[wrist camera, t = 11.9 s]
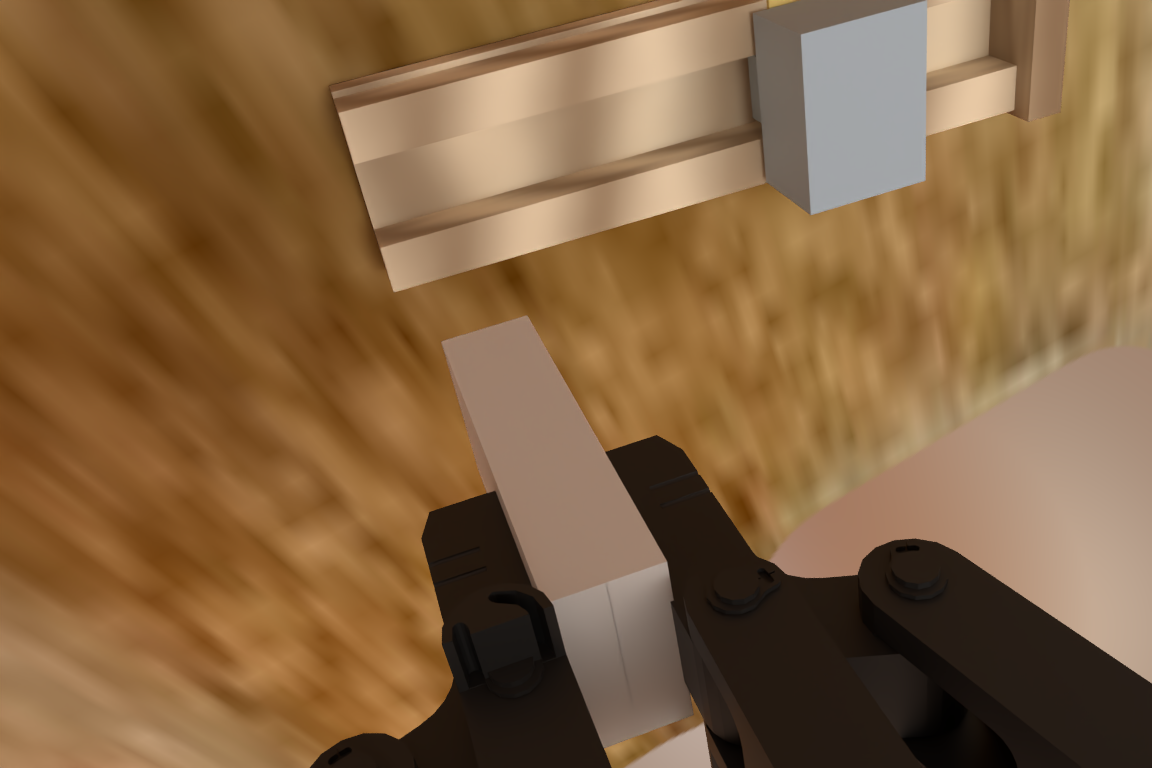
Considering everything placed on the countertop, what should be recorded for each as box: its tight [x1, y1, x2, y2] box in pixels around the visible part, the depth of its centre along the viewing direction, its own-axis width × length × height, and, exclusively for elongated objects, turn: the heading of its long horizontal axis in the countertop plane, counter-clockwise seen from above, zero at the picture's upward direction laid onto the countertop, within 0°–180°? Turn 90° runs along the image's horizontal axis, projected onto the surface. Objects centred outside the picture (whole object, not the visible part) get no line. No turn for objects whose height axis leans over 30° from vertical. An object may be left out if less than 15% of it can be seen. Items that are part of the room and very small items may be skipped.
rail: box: [329, 0, 1070, 292], centre depth 43 cm, size 30×8×4 cm, turn 101°
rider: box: [748, 0, 927, 215], centre depth 41 cm, size 5×7×6 cm
